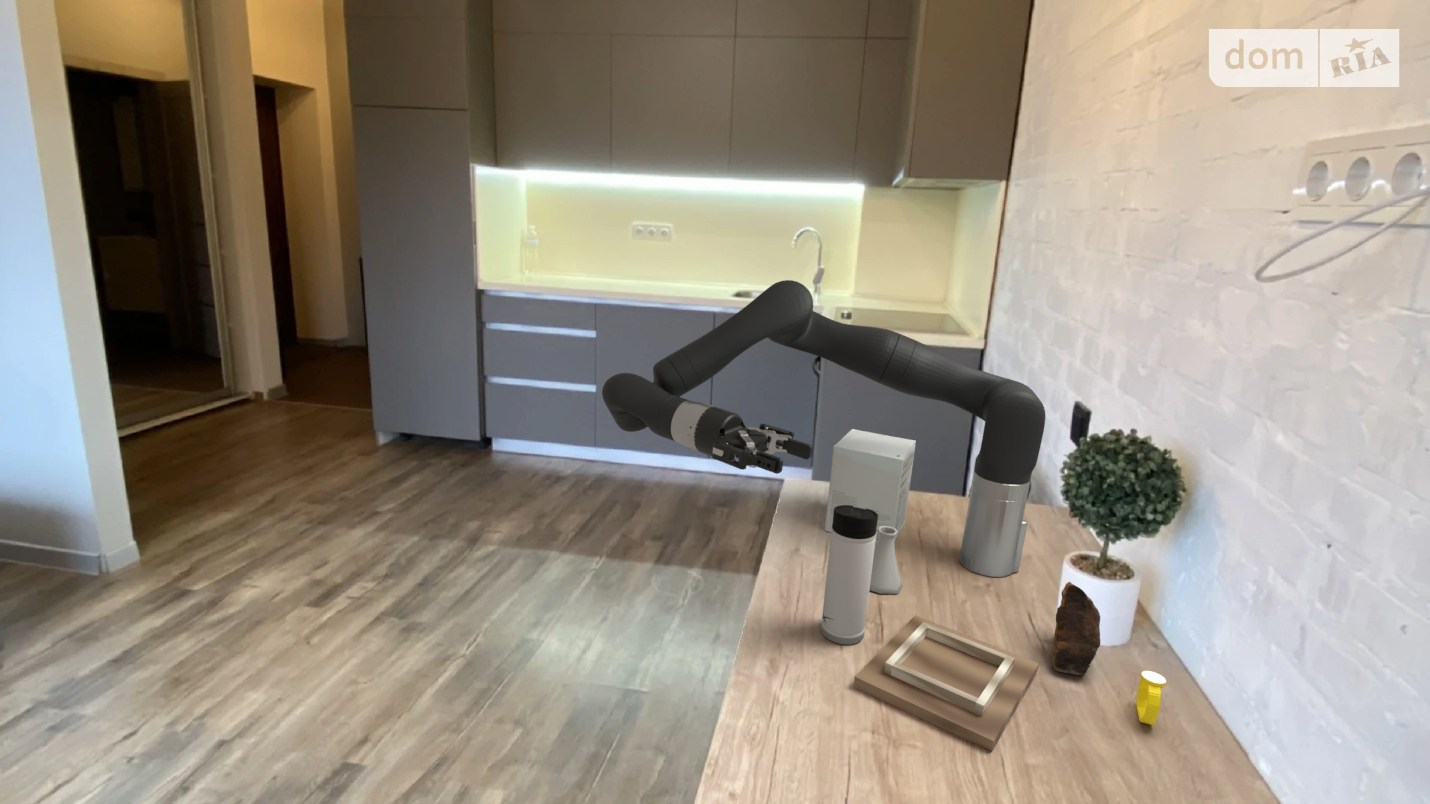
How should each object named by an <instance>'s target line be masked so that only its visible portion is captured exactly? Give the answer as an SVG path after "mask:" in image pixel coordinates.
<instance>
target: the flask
mask: <svg viewBox="0 0 1430 804" xmlns="http://www.w3.org/2000/svg"><path fill="white" fill-rule="evenodd" d="M878 533H879V536H878V541H877V544H876V543H875V549H874V557H873V565H872V573H871V582H870V590H869V592H870V591H871V592H874V593H878V594H881V595H884V594H886V595H887V594H888V595H890V594H891V595H894V594H895V595H896V594H899V592H900V591H901V589H902V588H903V582H902V577H901V574H900V570H899V565H898V561H897V556H896V550H895V548H896V547H895V541H896V539H895V536H896V535H897V533H898V531H897V530H896V529H895V528H893V527H889V526H880V527H879V528H878Z"/></svg>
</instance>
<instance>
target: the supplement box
mask: <svg viewBox="0 0 1430 804" xmlns="http://www.w3.org/2000/svg"><path fill="white" fill-rule="evenodd" d="M916 443H917V440H915V439H914V440H913V439H910V438H902V437H898V436H896V437H895V436H891V435H886V434H881V433H876V432H870V431H864V430H860V429H854V428H851V429H850V430H849V431H848V432H847V433H846V434H845V435H844V436H843V437H842V438H841V439H839V441H838V442H837V443H836V444H834V445H833V449H832V457H831V460H832V461H831V468H830V470H831V471H830V476H829V477H830V479H829V487H828V497H827V504H826V516H825V524H824V531H825V532H829V533H831V531H832V523H833V513H834V508H835V507H837V506H841V505H851V506H853V507H857V508H862V509H865V510H866V508H867V509H870V510H872V511H874V512H876V513H877V514H878V521H877V527H876V532H877V533H876V541H875V545H876V544H877V541H878V536H879V533H878V528H879V527H880V526H889V527H893V528H895V529H896V530H897V531H898V533H897V535H896V536H895V540H896V539H897V538H898V536H899V534H900V533H901V530H902V529H903V527H904V525H905V523H906V516H907V508H908V503H909V494H910V486H911V481H912V479H911V478H912V474H913V464H914V458H915V450H916Z"/></svg>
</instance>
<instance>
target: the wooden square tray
mask: <svg viewBox="0 0 1430 804" xmlns="http://www.w3.org/2000/svg"><path fill="white" fill-rule="evenodd" d="M1039 665H1040V663H1038V662H1036V661H1034V660H1031V659H1028V658H1026V657H1023V656H1021V655H1018V654H1015V653H1012V652H1010V651H1008V650H1005V649H1003V648H1001V647H997V646H995V645H992V644H990V643H987V642H985V641H982V640H979V639H977V638H975V637H973V636H970V635H968V634H965V633H961V632H959V631H957V630H954V629H951V628H950V627H946V626H944V625H941V624H940V623H937V622H934V621H931V620H928V619H926V618H924V617H921V616H919V615H916V614H915V615H913V617H911V619H909V620H908V622H907V623H906V624H904V626H903V627H902V628H900V630H899V631H898V632H897V633H896V634H895V635H894V636H893V637H892V638H891V639H890V640H889V641H888V642H887V643H886V644H885V645H884V646H883V647H882V648H881V649H880V650H879V652H877V654H875V655H874V657H873V658H872V659H870V661H869V662H867V664H865V666H864V667H863V668H862V669H860V671H859V672H858V673H857V674H856V675H855V676H854V681H853V687H854V688H856V689H858V688H859V689H858V690H860V691H863V692H864V693H866V694H868V695H870V696H873V697H875V698H877V699H879V700H881V701H883V702H886V703H888V704H890V705H891V706H894V707H896V708H898V709H900V710H902V711H904V712H907V713H909V714H911V715H913V716H915V717H917V718H919V719H921V720H924V721H926V722H928V723H930V724H932V725H934V726H936V727H938V728H940V729H943V730H944V731H947V732H949V733H951V734H953V735H955V736H957V737H959V738H961V739H963V740H965V741H968V742H970V743H972V744H974V745H977V746H978V747H980V748H983V749H985V750H986V751H989V752H991V753H992V752H993V750H994V749H995V748H996V745H997V744H998V742H999V740H1000V738H1001V737H1002V735H1003V733H1004V731H1005V730H1006V727H1007V726H1008V724H1009V722H1010V720H1011V719H1012V717H1013V716H1014V714H1015V711H1016V710H1017V708H1018V707H1019V706H1020V703H1021V702H1022V700H1023V698H1024V696H1025V694H1026V693H1027V692H1028V690H1029V688H1030V686H1031V684H1032V683H1033V681H1034V679H1035V677H1036V675H1037V674H1038V669H1039Z"/></svg>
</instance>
